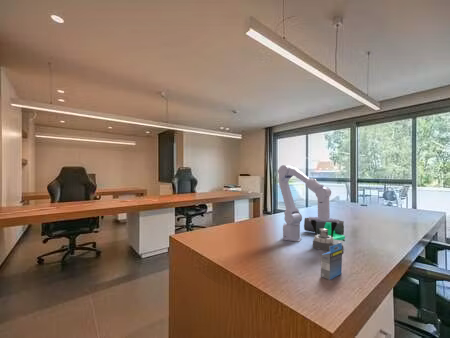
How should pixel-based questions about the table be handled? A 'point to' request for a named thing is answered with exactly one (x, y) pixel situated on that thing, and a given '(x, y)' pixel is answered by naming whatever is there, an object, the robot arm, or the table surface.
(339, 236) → the camera mount
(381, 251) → the table surface
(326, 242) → the camera body
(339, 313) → the table surface
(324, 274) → the label tape box
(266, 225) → the table surface
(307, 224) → the bluetooth speaker
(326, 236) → the lens
